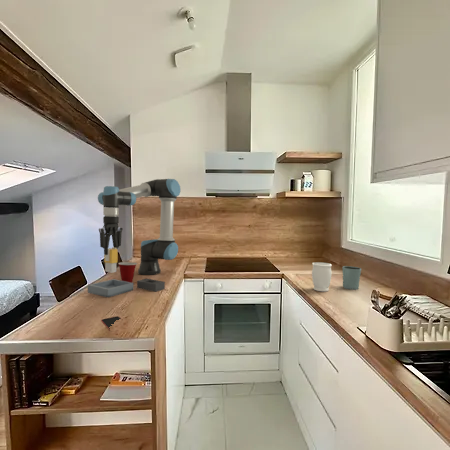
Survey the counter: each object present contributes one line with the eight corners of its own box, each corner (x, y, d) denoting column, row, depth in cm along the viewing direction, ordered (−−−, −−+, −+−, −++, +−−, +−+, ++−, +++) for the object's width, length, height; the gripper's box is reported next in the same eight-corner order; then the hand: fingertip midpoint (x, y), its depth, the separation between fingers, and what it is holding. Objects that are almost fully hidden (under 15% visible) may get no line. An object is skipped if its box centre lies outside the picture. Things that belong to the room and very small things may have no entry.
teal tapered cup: (338, 286, 173) (338, 266, 173) (351, 285, 177) (351, 265, 176) (350, 290, 164) (351, 269, 163) (364, 289, 167) (365, 268, 167)
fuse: (109, 270, 156) (110, 248, 155) (117, 271, 153) (117, 249, 152) (104, 271, 152) (104, 248, 152) (111, 272, 149) (111, 249, 149)
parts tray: (113, 285, 164) (113, 279, 164) (133, 290, 156) (133, 282, 156) (87, 292, 150) (87, 284, 150) (108, 297, 142) (108, 289, 142)
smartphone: (118, 315, 118) (130, 326, 106) (118, 317, 118) (130, 328, 107) (100, 319, 113) (111, 331, 102) (100, 320, 113) (111, 333, 102)
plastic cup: (140, 281, 176) (140, 261, 175) (128, 285, 166) (129, 264, 165) (126, 279, 180) (126, 260, 179) (113, 283, 170) (113, 263, 169)
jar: (318, 292, 158) (319, 265, 157) (307, 287, 168) (308, 262, 167) (334, 291, 161) (335, 265, 160) (323, 286, 171) (324, 261, 170)
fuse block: (146, 285, 167) (146, 278, 167) (164, 288, 160) (164, 281, 160) (137, 287, 161) (137, 280, 161) (155, 291, 154) (155, 284, 154)
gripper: (119, 215, 160) (119, 257, 161) (92, 215, 146) (92, 261, 147) (128, 216, 157) (128, 258, 158) (101, 216, 142) (101, 263, 143)
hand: (110, 260), depth 152 cm, fingers closed on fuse, 4 cm apart
